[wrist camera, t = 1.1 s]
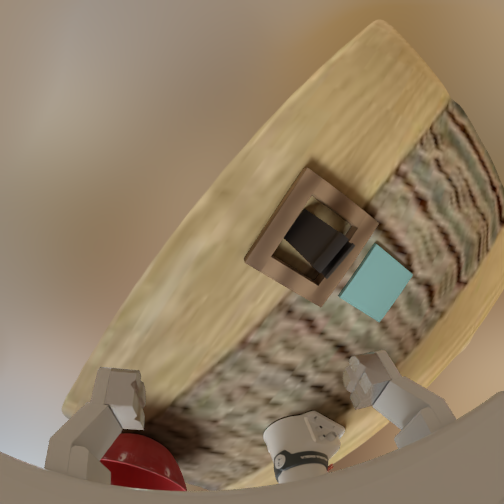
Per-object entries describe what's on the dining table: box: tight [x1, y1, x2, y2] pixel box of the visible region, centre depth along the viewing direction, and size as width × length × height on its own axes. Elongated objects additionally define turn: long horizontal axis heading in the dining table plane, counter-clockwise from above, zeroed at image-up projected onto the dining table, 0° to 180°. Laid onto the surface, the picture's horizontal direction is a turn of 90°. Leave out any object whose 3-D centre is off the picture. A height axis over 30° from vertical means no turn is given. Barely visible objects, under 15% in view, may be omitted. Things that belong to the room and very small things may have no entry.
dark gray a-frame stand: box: [284, 209, 355, 279], centre depth 43 cm, size 9×6×12 cm, turn 50°
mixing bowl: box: [100, 433, 187, 491], centre depth 53 cm, size 28×28×15 cm
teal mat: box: [338, 243, 413, 322], centre depth 52 cm, size 12×12×1 cm
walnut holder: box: [244, 168, 379, 307], centre depth 47 cm, size 16×18×2 cm
